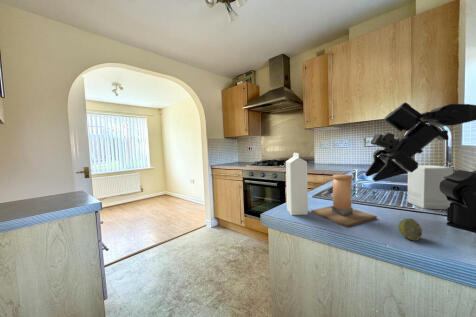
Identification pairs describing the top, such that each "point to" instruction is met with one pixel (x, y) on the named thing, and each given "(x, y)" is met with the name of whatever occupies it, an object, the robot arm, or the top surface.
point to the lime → (410, 229)
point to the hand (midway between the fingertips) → (369, 177)
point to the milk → (297, 185)
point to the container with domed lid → (342, 191)
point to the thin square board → (344, 216)
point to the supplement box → (428, 187)
